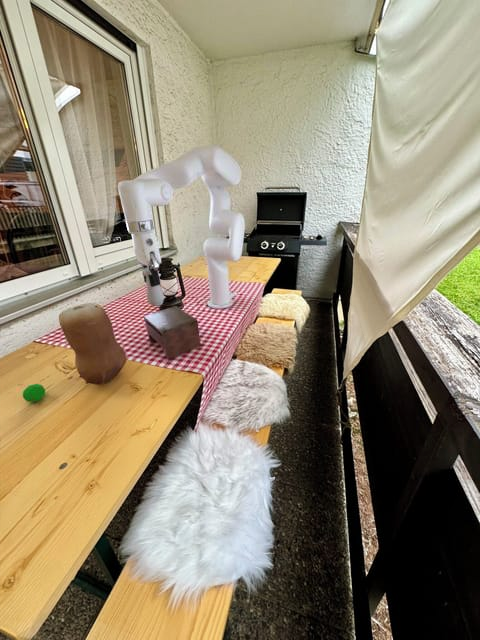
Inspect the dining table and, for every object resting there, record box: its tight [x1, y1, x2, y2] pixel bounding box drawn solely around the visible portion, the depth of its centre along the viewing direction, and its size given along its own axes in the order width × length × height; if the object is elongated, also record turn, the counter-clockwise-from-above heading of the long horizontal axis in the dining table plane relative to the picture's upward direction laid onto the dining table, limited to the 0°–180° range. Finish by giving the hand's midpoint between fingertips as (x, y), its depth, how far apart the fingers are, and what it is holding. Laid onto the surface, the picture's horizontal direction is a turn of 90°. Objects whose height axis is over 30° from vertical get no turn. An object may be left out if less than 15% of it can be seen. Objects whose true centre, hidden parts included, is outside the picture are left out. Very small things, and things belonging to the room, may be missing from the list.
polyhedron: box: [22, 383, 46, 403], centre depth 73 cm, size 5×5×5 cm
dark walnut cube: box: [143, 305, 202, 361], centre depth 95 cm, size 13×16×11 cm
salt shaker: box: [142, 267, 165, 307], centre depth 87 cm, size 6×6×13 cm
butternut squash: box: [58, 302, 127, 385], centre depth 75 cm, size 14×13×25 cm
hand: (152, 283), depth 87 cm, fingers closed on salt shaker, 4 cm apart
